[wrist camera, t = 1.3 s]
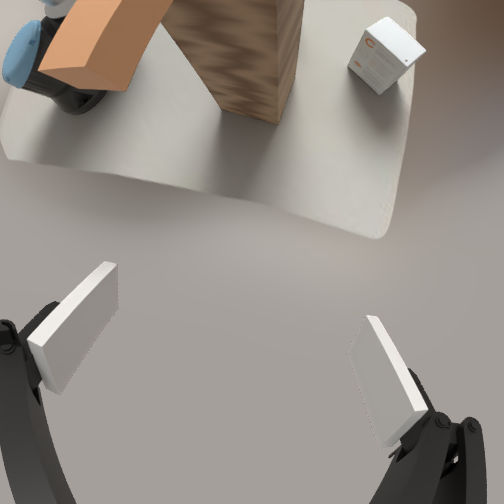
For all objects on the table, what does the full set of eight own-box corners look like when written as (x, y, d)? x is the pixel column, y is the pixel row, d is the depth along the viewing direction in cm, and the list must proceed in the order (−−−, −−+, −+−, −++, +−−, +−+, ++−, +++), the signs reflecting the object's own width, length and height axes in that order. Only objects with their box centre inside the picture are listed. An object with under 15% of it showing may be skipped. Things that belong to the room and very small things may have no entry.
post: (221, 110, 43) (106, -45, 6) (240, 63, 41) (179, -106, 4) (278, 125, 42) (273, -59, 6) (295, 76, 40) (314, -106, 4)
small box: (397, 79, 38) (427, 51, 25) (379, 96, 39) (407, 68, 27) (366, 50, 38) (387, 14, 25) (346, 65, 39) (364, 29, 26)
